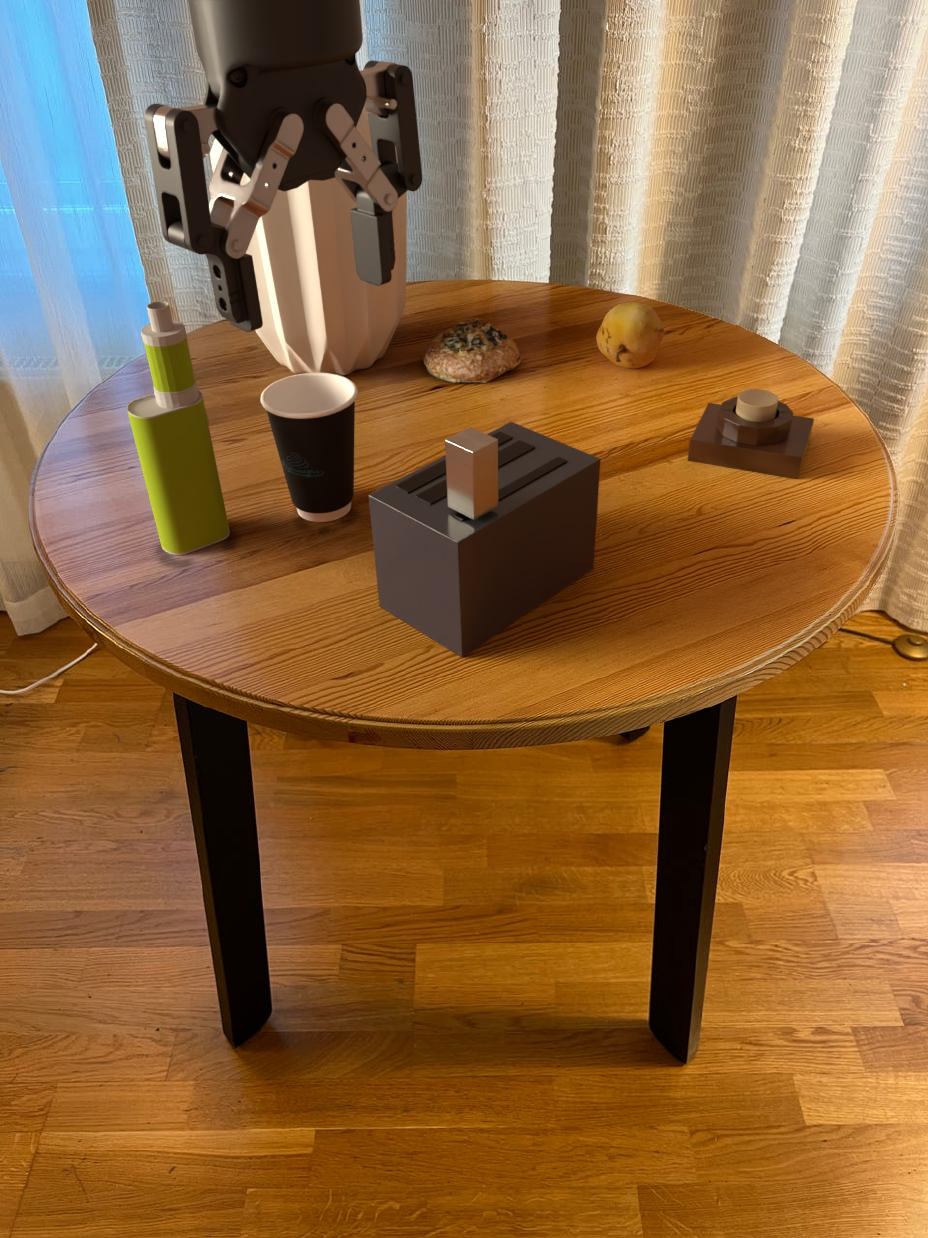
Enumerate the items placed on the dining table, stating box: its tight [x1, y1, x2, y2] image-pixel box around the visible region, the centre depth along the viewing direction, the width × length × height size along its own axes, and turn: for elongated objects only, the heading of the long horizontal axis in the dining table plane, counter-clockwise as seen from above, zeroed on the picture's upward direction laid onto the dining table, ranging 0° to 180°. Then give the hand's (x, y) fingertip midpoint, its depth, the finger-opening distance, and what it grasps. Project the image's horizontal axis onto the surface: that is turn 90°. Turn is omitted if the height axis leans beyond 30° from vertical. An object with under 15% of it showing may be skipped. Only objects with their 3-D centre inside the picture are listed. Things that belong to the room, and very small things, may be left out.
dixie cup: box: [260, 373, 359, 523], centre depth 87 cm, size 8×8×11 cm
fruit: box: [595, 301, 665, 369], centre depth 110 cm, size 7×7×10 cm
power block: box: [687, 396, 815, 480], centre depth 95 cm, size 10×8×4 cm
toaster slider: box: [444, 426, 498, 520], centre depth 69 cm, size 2×3×5 cm
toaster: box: [368, 421, 601, 659], centre depth 77 cm, size 15×9×10 cm, turn 135°
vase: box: [209, 107, 408, 376], centre depth 107 cm, size 20×20×28 cm
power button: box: [735, 388, 779, 422], centre depth 93 cm, size 4×4×2 cm
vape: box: [126, 300, 231, 556], centre depth 81 cm, size 4×6×20 cm, turn 126°
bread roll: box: [422, 318, 523, 384], centre depth 112 cm, size 11×11×5 cm
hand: (313, 302), depth 54 cm, fingers open, 8 cm apart
